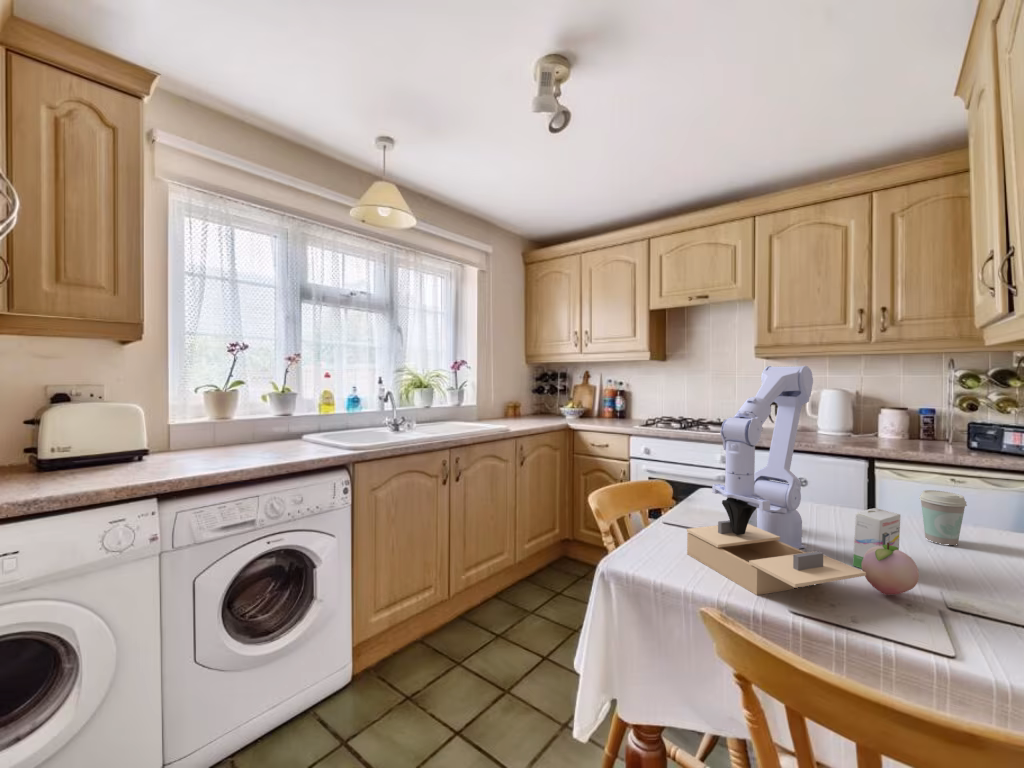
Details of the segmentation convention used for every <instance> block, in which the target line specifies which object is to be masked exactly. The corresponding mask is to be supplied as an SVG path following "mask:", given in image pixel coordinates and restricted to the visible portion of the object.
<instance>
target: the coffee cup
mask: <svg viewBox="0 0 1024 768" xmlns="http://www.w3.org/2000/svg"><path fill="white" fill-rule="evenodd" d="M919 500H920V503H921V513H922V521H923V529H924V537H925V538H927V539H928V540H931V541H933V542H937V543H941V544H949V545H956V544H958V545H959V539H960V534H961V530H962V525H963V524H962V523H963V518H964V513H965V510H966V509H965V507H967V506H968V504H967V501H966V499H965V496H963V495H961V494H957V493H955V492H950V491H944V490H943V491H941V490H934V489H933V490H932V489H925V490H923V491H921V494H920V495H919Z"/></svg>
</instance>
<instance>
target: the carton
mask: <svg viewBox="0 0 1024 768" xmlns="http://www.w3.org/2000/svg"><path fill="white" fill-rule="evenodd" d="M686 533H687V539H686V540H687V541H686V544H687V547H686V548H687V549H686V555H687V556H690V557H691V558H693V559H695V560H697V561H698V562H699V563H701V564H702V565H703V564H704V565H705V566H706V567H708V568H710V569H712V570H713V571H715V572H716V573H718V574H720V575H722V576H723V577H725V578H727V579H728V580H730V581H732V582H734V583H735V584H737V585H738V586H740V587H742V588H744V589H745V590H747V591H748V592H750V593H752V594H754V595H755V596H760V595H767V594H773V593H777V592H784V591H788V590H790V591H791V590H795V589H794V588H795V587H793V586H791V585H789V584H787V583H785V582H783V581H781V580H779V579H777V578H775V577H774V576H772V575H770V574H768V573H766V572H764V571H762V570H760V569H758V568H756V567H754V566H752V565H750V564H749V561H750V560H757V559H764V558H771V557H778V556H785V555H792V554H799V553H806V551H804V550H801V549H800V548H799V549H797V548H794V547H792V546H790V545H787V544H785V543H783V542H780V541H778V540H774V541H766V542H758V543H750V544H743V545H735V546H727V547H719V548H718V547H716V546H714V545H712V544H710V543H708V542H706V541H704V540H702V539H700V538H698V537H696V536H695V535H693V534H691V533H689V532H686ZM820 585H822V584H821V583H820ZM808 587H810V586H809V585H808ZM796 588H797V589H799V588H798V587H796ZM802 588H805V587H804V586H802Z"/></svg>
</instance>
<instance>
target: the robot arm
mask: <svg viewBox="0 0 1024 768" xmlns="http://www.w3.org/2000/svg"><path fill="white" fill-rule="evenodd" d="M760 378H761V381H760V382H761V386H760V387H759V388H758V391H757V392H756V393H755V396H752V397H748V398H747V399H746V400H745V401H744V403H743V404H742V405H741V406H740V408H739V409H738V410H737V412H736V413H735V415H733V417H731V416H730V417H728V418H726V419H724V421H723V422H722V424H721V427H720V430H719V431H720V437H721V440H722V448H723V450H724V451H725V470H724V471H725V475H724V476H725V481H724V483H725V485H724V484H720V483H715V484H712V490H711V491H712V493H713V494H719V495H721V496H722V497H725V498H726V499H723V500H722V501H721V504H722V506H723V507H724V509H725V511H726V513H727V516H728V519H729V520H730V523H731V527H732V531H733V533H734V534H736V535H742V534H745V531H746V528H747V525H748V522H749V519H750V517H751V515H752V514H753V512H754V511H755V510H756V508H757V528H760V529H762V530H764V531H767V532H769V533H772V534H774V535H777V536H779V537H780V540H778V541H780V542H783V543H785V544H787V545H790V546H792V547H794V548H797V549H799V550H800V549H805V548H806V546H805V545H804V544H803V542H802V541H803V520H802V519H803V518H802V516H801V514H800V513H799V511H798V510H797V509H798V508H799V507H800V504H801V501H802V500H801V499H802V493H801V487H802V482H801V481H800V479H799V478H798V476H796V475H795V474H794V473H793V472H792V471H791V466H792V461H793V456H794V455H793V454H794V448H795V446H796V445H795V444H796V439H797V435H798V434H797V432H798V429H799V428H798V426H799V422H800V416H801V412H802V408H803V405H805V404H807V403H809V402H810V398H811V395H812V391H813V386H814V385H813V384H814V377H813V372H812V369H811V368H810V367H809V366H808V365H802V366H801V365H800V366H795V365H794V366H792V365H791V366H789V365H788V366H772V365H767V366H765V367H764V369H762V372H761V377H760ZM773 403H775V404H776V405H777V413H776V417H775V421H774V427H773V432H772V436H771V443H770V447H769V452H768V453H769V454H768V457H767V462H766V466H763V467H762V468H760V469H758V470H756V471H755V469H756V468H755V467H756V465H755V464H756V463H755V462H756V461H755V460H756V445H758V443H760V439H761V436H762V435H761V434H762V431H763V429H764V427H763V425H764V424H765V422H766V421H767V419H768V418H769V416H770V415H771V413H772V407H771V405H772V404H773ZM754 473H755V474H754Z"/></svg>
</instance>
